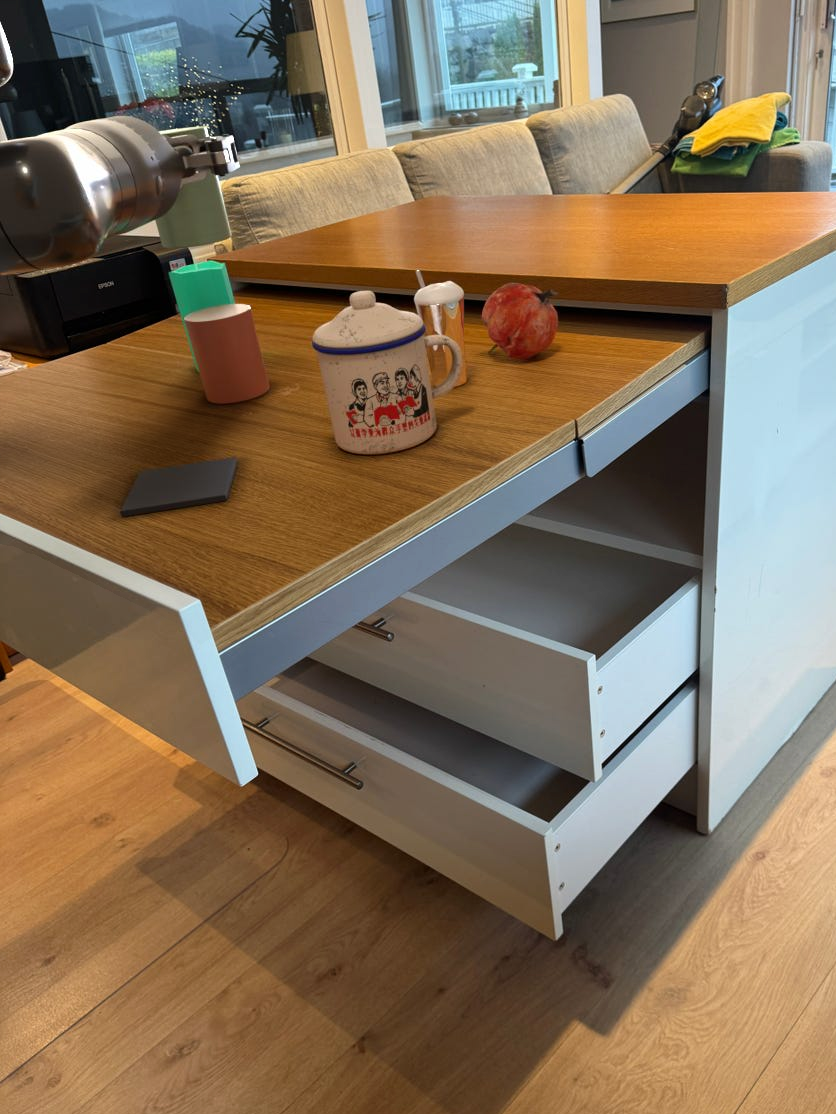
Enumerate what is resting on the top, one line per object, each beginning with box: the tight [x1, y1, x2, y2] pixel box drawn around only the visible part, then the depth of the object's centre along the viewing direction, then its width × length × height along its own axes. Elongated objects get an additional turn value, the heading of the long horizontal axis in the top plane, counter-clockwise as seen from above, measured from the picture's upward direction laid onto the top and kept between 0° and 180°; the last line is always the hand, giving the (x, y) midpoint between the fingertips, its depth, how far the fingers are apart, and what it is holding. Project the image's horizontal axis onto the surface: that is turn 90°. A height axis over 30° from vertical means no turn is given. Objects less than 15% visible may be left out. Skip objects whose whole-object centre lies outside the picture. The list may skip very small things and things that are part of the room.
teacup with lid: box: [311, 290, 462, 455], centre depth 73 cm, size 12×9×12 cm
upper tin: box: [154, 125, 233, 249], centre depth 81 cm, size 6×6×9 cm
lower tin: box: [184, 303, 271, 405], centre depth 89 cm, size 6×6×8 cm
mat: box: [119, 456, 239, 518], centre depth 71 cm, size 8×8×1 cm
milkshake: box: [413, 269, 467, 388], centre depth 84 cm, size 4×5×10 cm
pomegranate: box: [481, 282, 559, 360], centre depth 89 cm, size 7×7×10 cm
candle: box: [168, 251, 236, 373], centre depth 98 cm, size 6×6×12 cm
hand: (183, 154), depth 82 cm, fingers closed on upper tin, 6 cm apart
